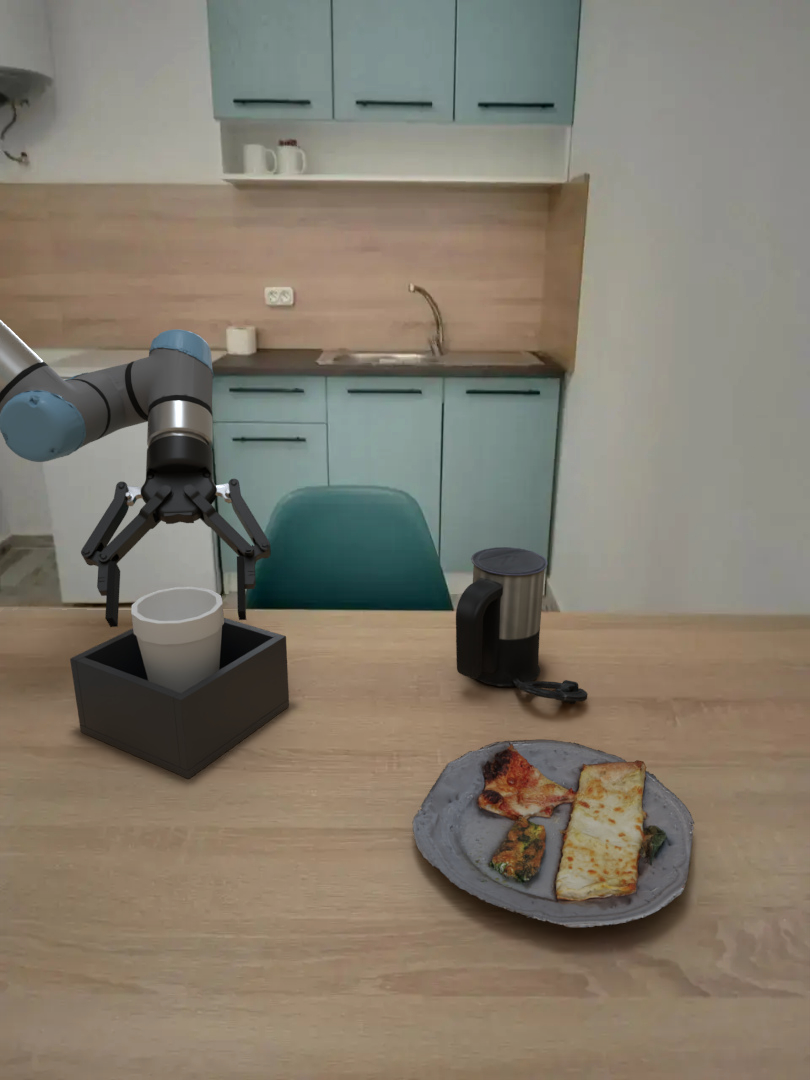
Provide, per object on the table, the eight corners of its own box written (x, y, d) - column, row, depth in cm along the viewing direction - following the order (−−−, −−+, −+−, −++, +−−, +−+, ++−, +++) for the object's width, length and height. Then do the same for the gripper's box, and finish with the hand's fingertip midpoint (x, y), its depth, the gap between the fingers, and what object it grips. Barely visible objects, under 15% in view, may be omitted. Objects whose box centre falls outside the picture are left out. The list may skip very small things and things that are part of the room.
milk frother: (477, 647, 109) (482, 541, 104) (598, 668, 104) (609, 558, 99) (444, 700, 97) (447, 583, 92) (580, 727, 92) (591, 604, 86)
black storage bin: (80, 732, 90) (69, 658, 87) (187, 670, 103) (181, 604, 100) (188, 779, 82) (180, 700, 79) (289, 706, 95) (286, 635, 92)
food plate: (473, 735, 90) (474, 707, 89) (698, 787, 81) (703, 757, 80) (378, 893, 68) (378, 858, 67) (673, 986, 60) (678, 948, 59)
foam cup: (246, 713, 92) (239, 606, 87) (169, 745, 86) (157, 632, 81) (203, 681, 98) (194, 580, 94) (129, 708, 93) (115, 602, 88)
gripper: (287, 462, 103) (294, 624, 94) (77, 468, 99) (64, 636, 90) (286, 430, 96) (294, 600, 87) (61, 434, 93) (45, 613, 84)
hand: (177, 619), depth 89 cm, fingers open, 13 cm apart
